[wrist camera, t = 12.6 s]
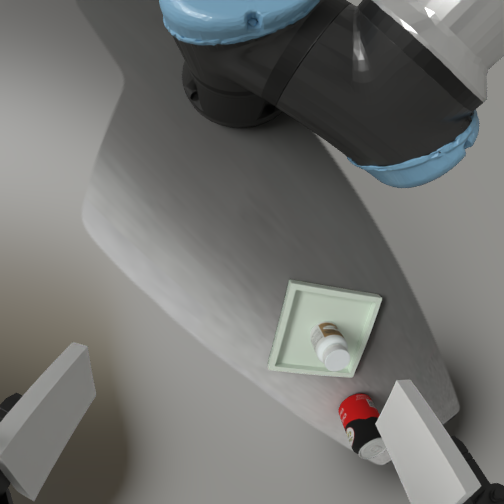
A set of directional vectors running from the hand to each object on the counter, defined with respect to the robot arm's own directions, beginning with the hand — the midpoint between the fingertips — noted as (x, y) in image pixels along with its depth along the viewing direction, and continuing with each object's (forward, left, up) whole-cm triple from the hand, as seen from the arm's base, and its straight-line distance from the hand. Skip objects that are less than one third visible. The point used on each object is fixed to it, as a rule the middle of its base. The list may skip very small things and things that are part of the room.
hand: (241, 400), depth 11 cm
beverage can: (+24, +25, -30) cm, 46 cm away
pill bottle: (+10, +14, -29) cm, 34 cm away
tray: (+10, +14, -30) cm, 34 cm away
